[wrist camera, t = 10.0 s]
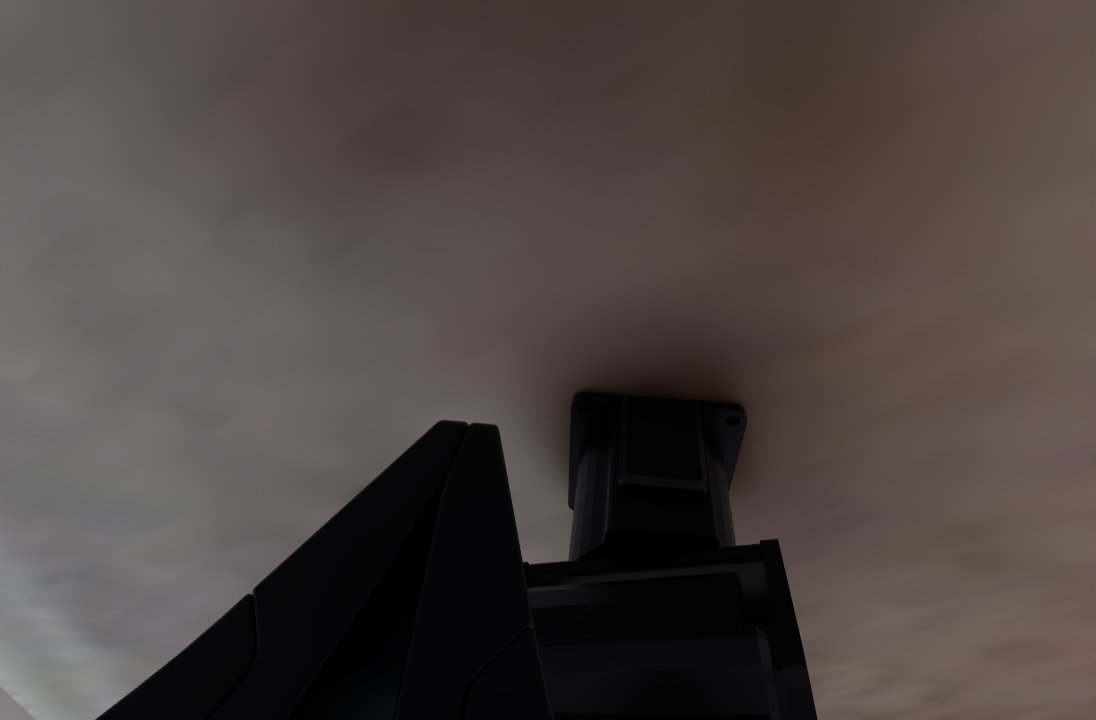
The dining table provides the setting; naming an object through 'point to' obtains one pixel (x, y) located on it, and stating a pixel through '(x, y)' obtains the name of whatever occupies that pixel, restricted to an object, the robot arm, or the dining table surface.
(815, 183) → the dining table surface
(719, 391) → the dining table surface
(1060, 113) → the dining table surface
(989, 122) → the dining table surface
